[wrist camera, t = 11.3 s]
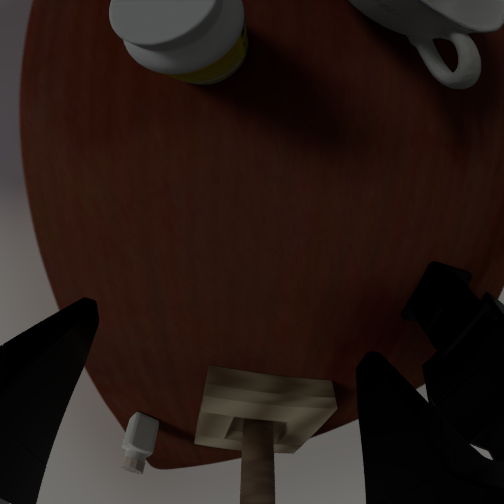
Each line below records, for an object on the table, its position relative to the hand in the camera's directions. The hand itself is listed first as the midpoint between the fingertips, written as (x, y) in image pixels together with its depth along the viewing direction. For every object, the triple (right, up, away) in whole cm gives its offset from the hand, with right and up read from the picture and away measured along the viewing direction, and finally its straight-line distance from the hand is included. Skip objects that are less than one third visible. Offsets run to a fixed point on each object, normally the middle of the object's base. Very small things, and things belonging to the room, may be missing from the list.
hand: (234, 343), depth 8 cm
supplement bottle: (-2, +16, +6) cm, 17 cm away
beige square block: (+1, -16, +24) cm, 29 cm away
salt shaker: (-16, -23, +28) cm, 39 cm away
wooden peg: (+1, -18, +22) cm, 28 cm away
